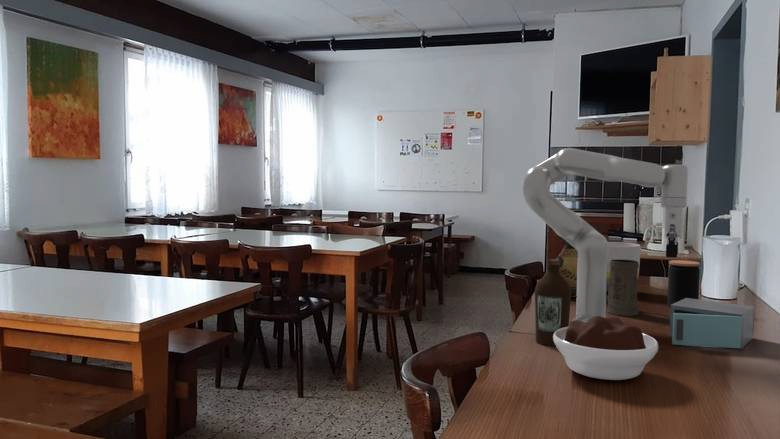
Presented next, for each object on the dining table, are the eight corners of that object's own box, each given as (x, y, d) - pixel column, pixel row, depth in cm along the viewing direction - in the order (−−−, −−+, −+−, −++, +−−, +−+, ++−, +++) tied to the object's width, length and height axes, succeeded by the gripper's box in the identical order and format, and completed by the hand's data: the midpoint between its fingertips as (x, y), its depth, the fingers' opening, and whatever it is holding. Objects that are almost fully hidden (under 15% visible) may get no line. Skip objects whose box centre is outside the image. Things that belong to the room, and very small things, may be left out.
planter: (591, 295, 258) (593, 245, 257) (590, 287, 277) (592, 241, 275) (641, 298, 253) (642, 247, 251) (636, 290, 271) (638, 242, 270)
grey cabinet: (740, 348, 177) (742, 314, 177) (669, 336, 191) (670, 304, 190) (753, 338, 189) (754, 306, 189) (684, 327, 203) (686, 297, 202)
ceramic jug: (588, 300, 247) (590, 227, 245) (549, 298, 250) (551, 226, 248) (583, 292, 264) (585, 224, 262) (547, 291, 267) (549, 223, 265)
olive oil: (538, 335, 190) (540, 256, 189) (573, 340, 185) (575, 259, 183) (529, 343, 181) (531, 260, 179) (565, 348, 176) (567, 263, 174)
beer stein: (632, 317, 216) (636, 261, 216) (602, 313, 222) (605, 259, 222) (644, 313, 228) (647, 260, 228) (615, 309, 235) (618, 258, 234)
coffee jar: (691, 305, 238) (693, 260, 237) (702, 311, 227) (704, 264, 226) (663, 305, 239) (665, 259, 238) (673, 311, 228) (675, 263, 227)
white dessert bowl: (575, 354, 170) (576, 301, 169) (669, 372, 155) (671, 314, 154) (535, 375, 151) (536, 316, 150) (638, 399, 135) (641, 333, 134)
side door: (745, 349, 175) (746, 317, 174) (673, 345, 179) (674, 314, 178) (742, 347, 177) (744, 316, 176) (672, 343, 181) (673, 313, 180)
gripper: (686, 204, 186) (684, 259, 187) (686, 202, 201) (685, 253, 202) (659, 203, 189) (657, 258, 190) (662, 201, 205) (660, 252, 206)
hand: (671, 255), depth 196 cm, fingers open, 9 cm apart
